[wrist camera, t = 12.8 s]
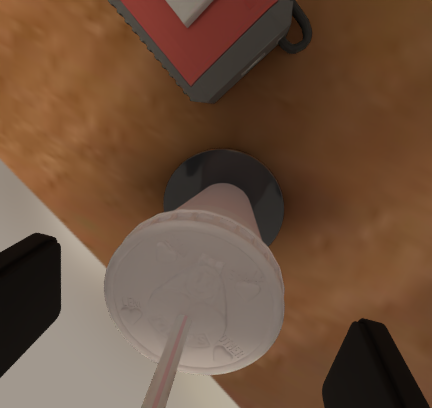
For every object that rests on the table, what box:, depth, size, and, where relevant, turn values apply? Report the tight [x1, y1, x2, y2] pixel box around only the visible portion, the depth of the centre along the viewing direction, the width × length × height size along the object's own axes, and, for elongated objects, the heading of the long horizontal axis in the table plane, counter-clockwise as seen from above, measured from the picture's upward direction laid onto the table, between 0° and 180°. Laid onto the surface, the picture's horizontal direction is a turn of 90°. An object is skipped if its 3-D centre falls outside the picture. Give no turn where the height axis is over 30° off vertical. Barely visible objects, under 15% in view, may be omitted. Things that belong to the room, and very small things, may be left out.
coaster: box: [163, 148, 284, 246], centre depth 19 cm, size 8×8×1 cm
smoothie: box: [104, 183, 285, 408], centre depth 12 cm, size 6×6×14 cm
